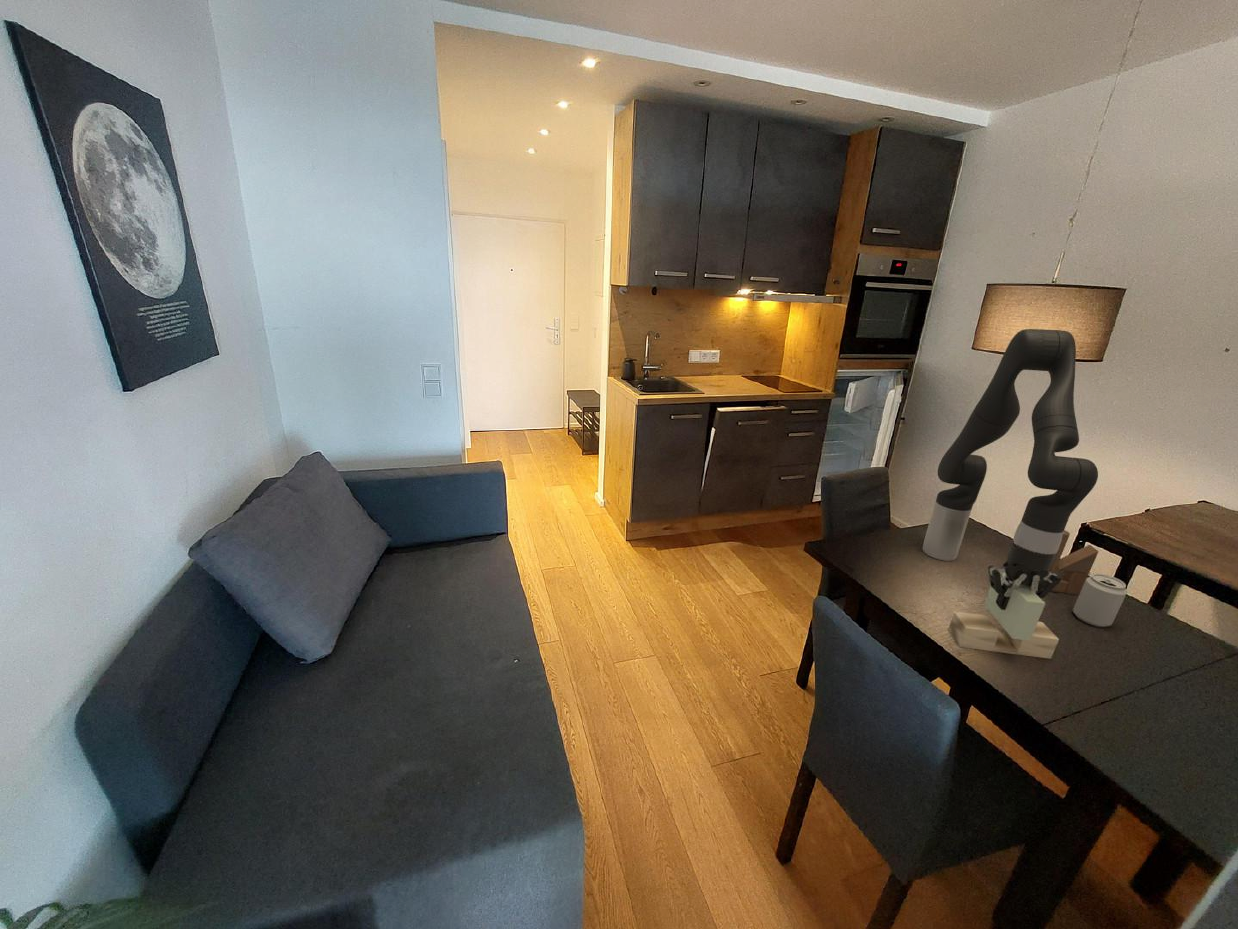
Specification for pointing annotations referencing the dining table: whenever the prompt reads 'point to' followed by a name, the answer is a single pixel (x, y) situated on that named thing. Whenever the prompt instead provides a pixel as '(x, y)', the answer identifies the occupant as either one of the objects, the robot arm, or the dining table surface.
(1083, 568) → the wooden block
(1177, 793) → the dining table surface
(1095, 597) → the can
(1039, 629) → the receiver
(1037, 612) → the sage green tall block
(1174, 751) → the dining table surface
